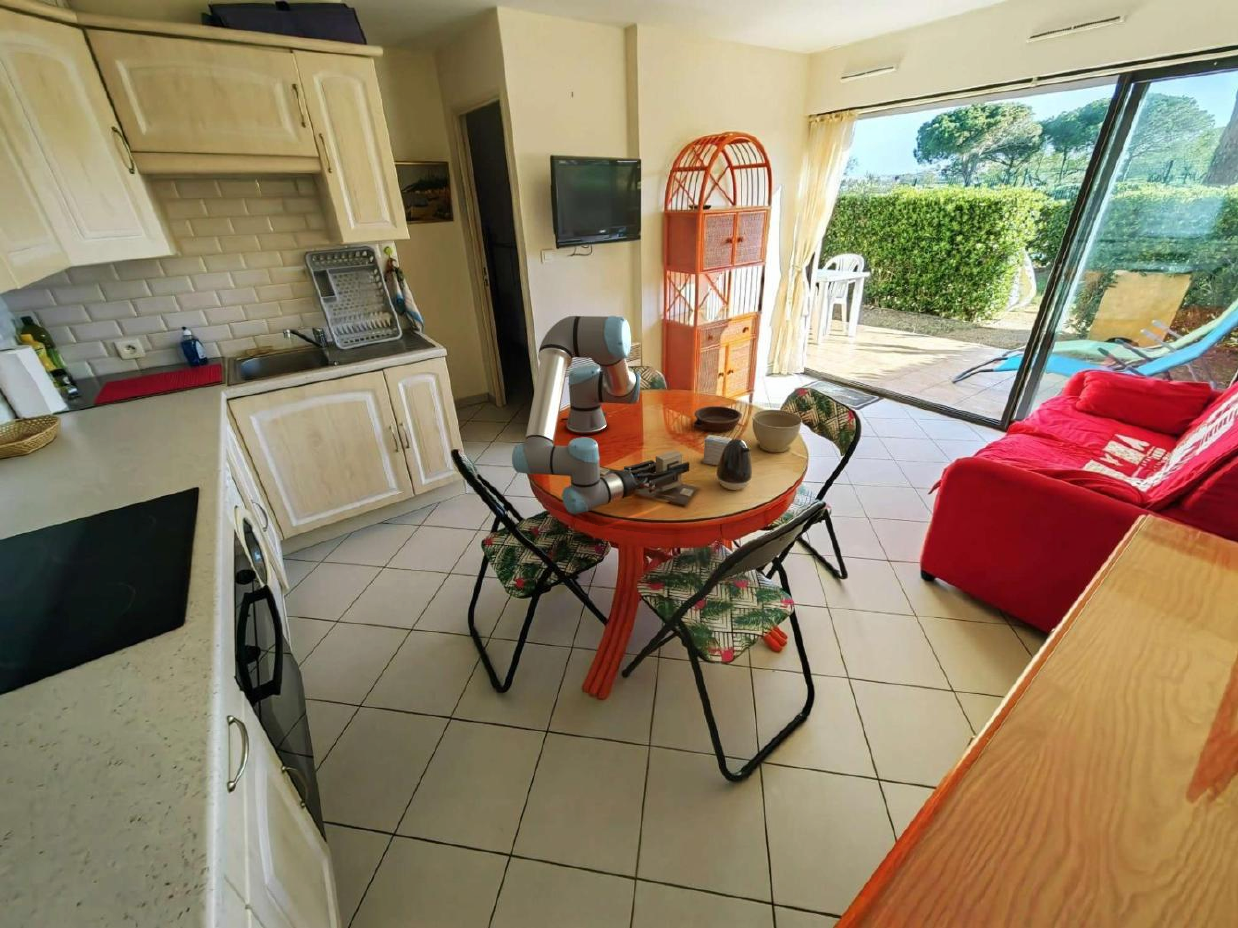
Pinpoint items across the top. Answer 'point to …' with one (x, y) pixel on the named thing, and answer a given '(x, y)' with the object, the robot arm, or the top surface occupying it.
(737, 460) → the pump dispenser
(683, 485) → the right mat
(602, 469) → the left mat
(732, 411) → the dish
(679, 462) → the small grey cuboid
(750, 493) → the top surface
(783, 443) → the planter bowl
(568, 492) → the robot arm
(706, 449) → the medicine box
